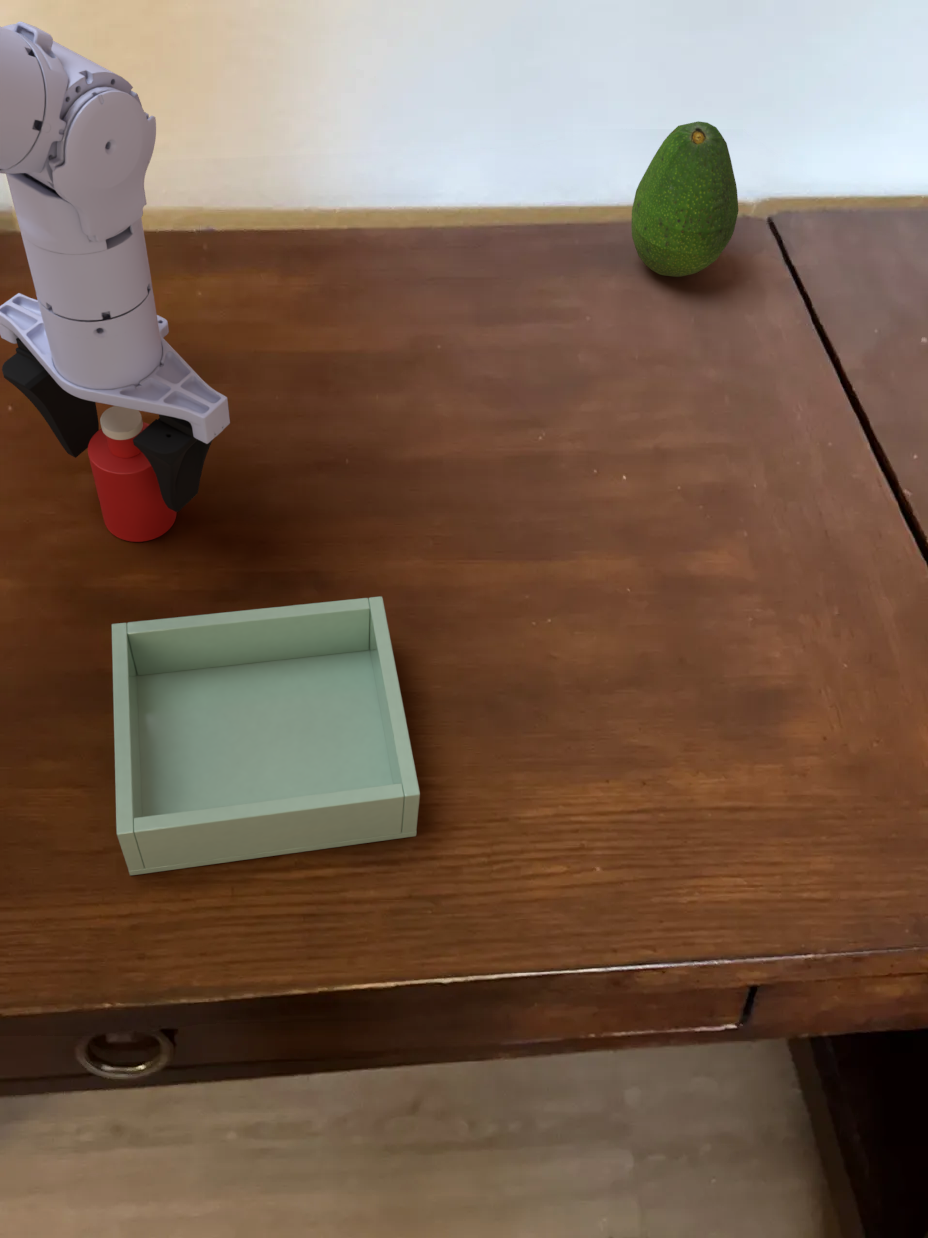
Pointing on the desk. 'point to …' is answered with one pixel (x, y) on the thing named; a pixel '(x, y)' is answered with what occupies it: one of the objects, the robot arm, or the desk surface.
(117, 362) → the robot arm
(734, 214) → the fruit
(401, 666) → the desk surface
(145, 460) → the bottle
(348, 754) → the tray
